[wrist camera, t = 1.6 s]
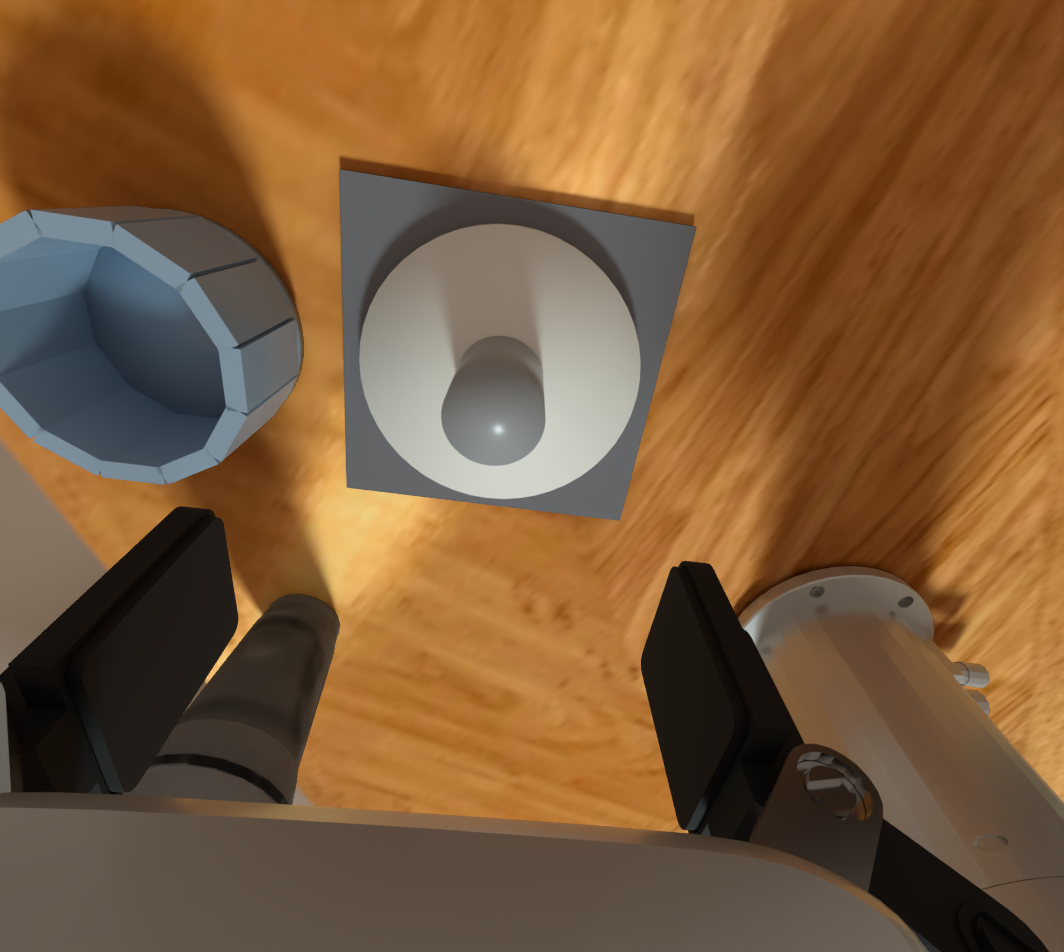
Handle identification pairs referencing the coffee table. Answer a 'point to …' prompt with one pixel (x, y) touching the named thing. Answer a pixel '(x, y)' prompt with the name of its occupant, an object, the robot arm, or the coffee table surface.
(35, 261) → the bowl
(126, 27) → the coffee table surface
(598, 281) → the lid
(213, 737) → the beverage cup
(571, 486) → the mat
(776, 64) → the coffee table surface
